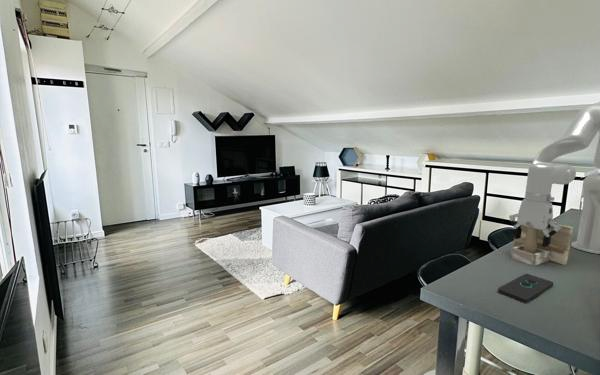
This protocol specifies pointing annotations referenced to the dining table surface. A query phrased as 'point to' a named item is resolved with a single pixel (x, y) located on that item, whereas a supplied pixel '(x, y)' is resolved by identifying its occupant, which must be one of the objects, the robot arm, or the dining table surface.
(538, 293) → the smart home device
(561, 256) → the wooden wall shelf
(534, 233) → the handle
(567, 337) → the dining table surface
